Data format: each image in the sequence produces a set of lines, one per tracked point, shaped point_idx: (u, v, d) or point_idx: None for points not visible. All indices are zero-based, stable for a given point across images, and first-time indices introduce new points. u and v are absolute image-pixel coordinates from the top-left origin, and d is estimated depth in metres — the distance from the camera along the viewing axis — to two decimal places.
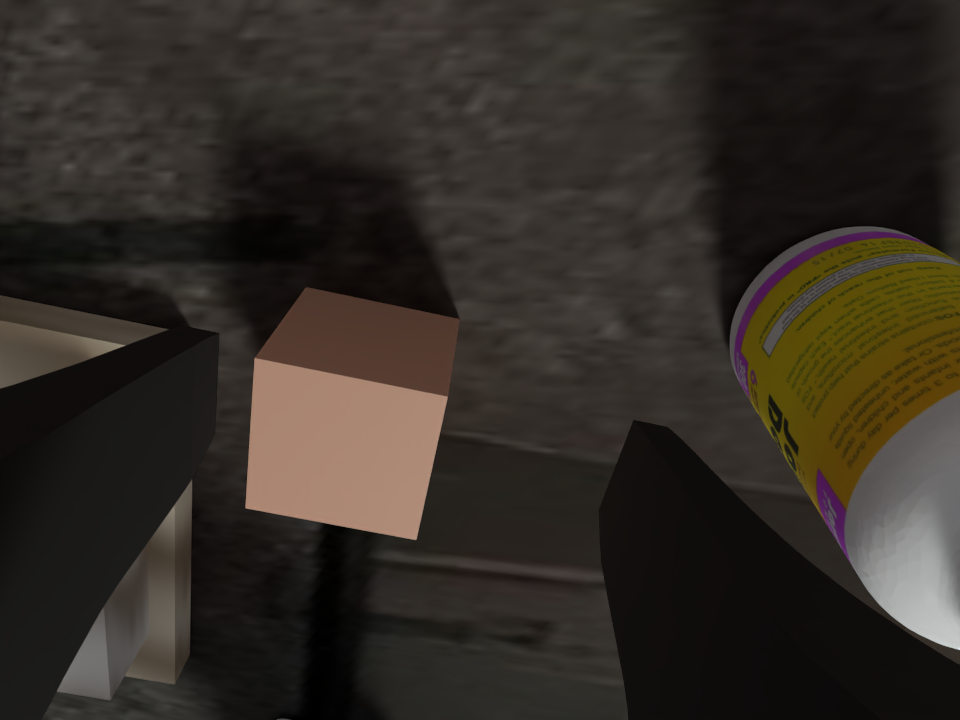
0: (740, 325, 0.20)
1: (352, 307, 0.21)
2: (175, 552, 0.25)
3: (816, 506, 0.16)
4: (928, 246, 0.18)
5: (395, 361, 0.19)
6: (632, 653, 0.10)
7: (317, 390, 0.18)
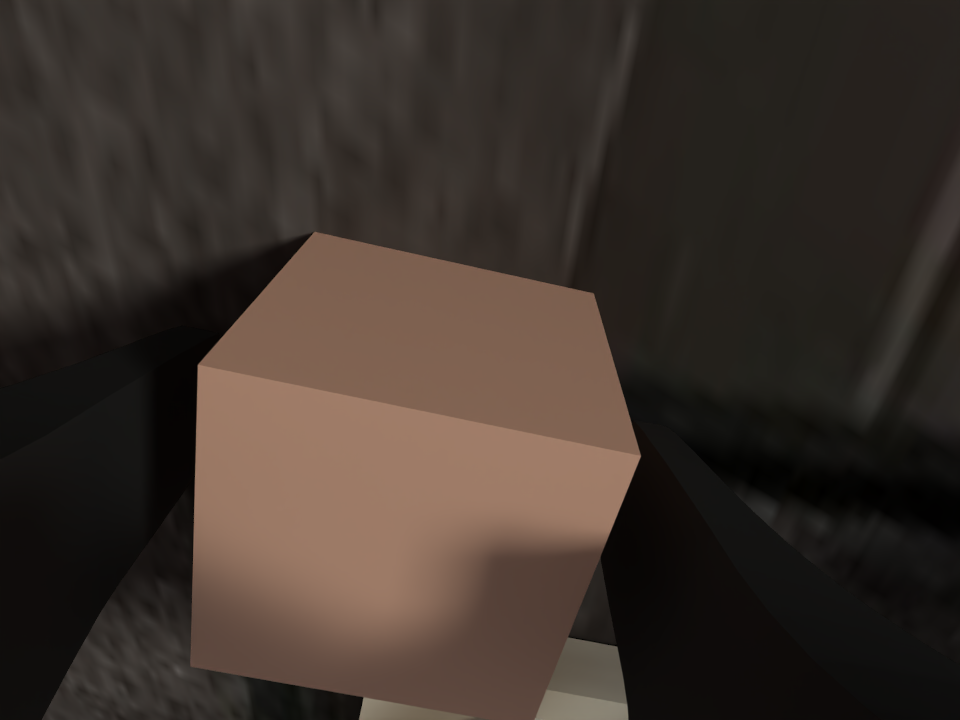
0: None
1: None
2: None
3: None
4: None
5: None
6: (632, 653, 0.10)
7: (237, 591, 0.09)
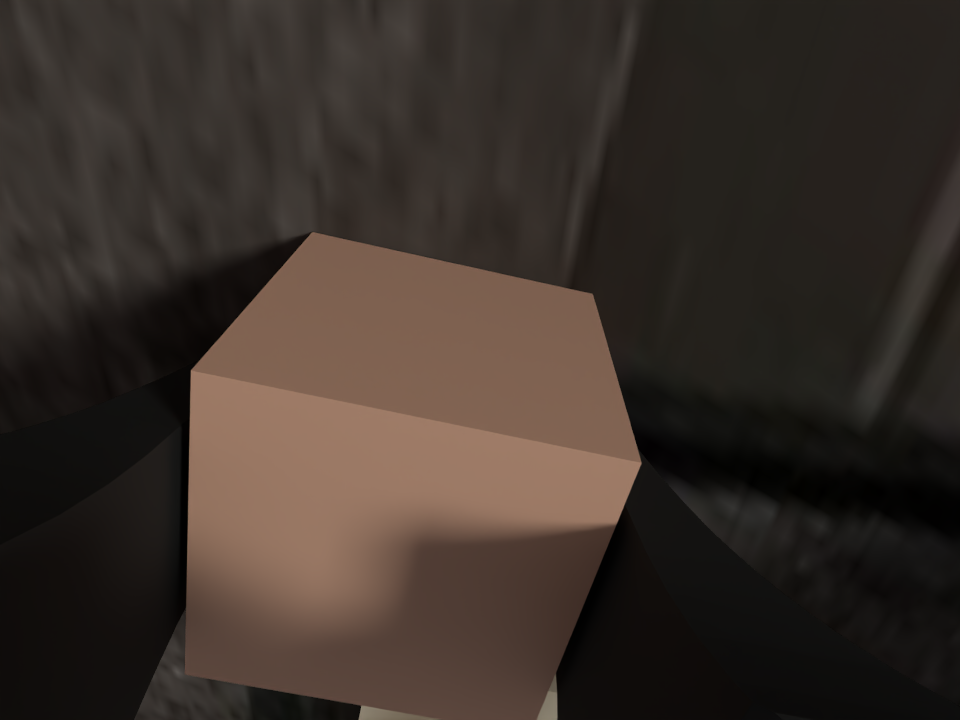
0: None
1: None
2: None
3: None
4: None
5: None
6: None
7: (231, 599, 0.09)
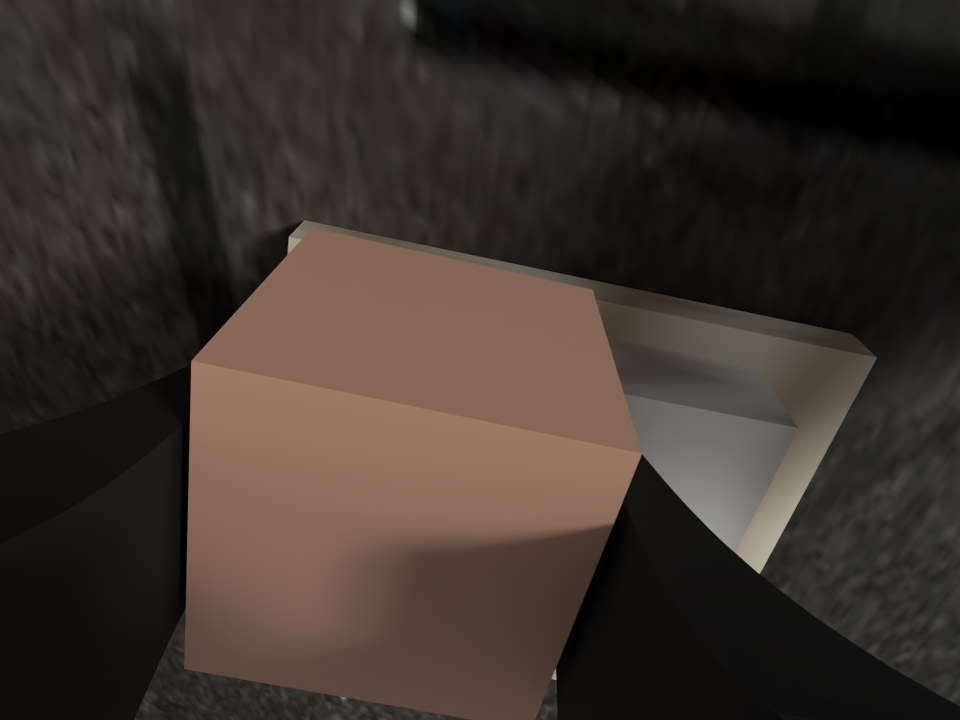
0: None
1: None
2: (608, 301, 0.18)
3: None
4: None
5: None
6: None
7: (230, 593, 0.09)
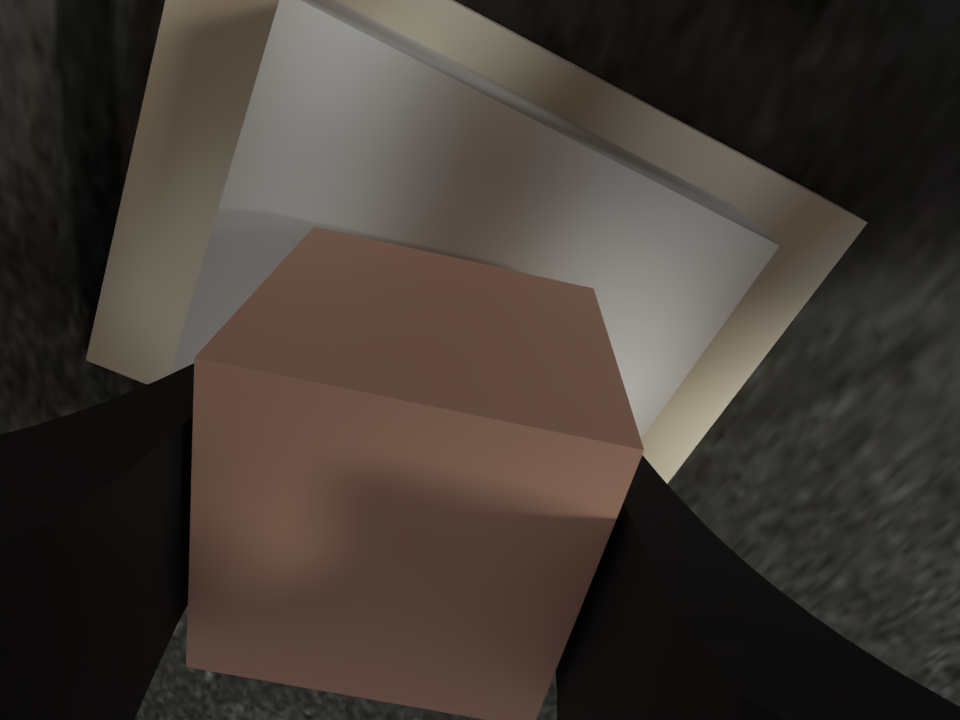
0: None
1: None
2: (582, 70, 0.14)
3: None
4: None
5: None
6: None
7: (233, 590, 0.09)
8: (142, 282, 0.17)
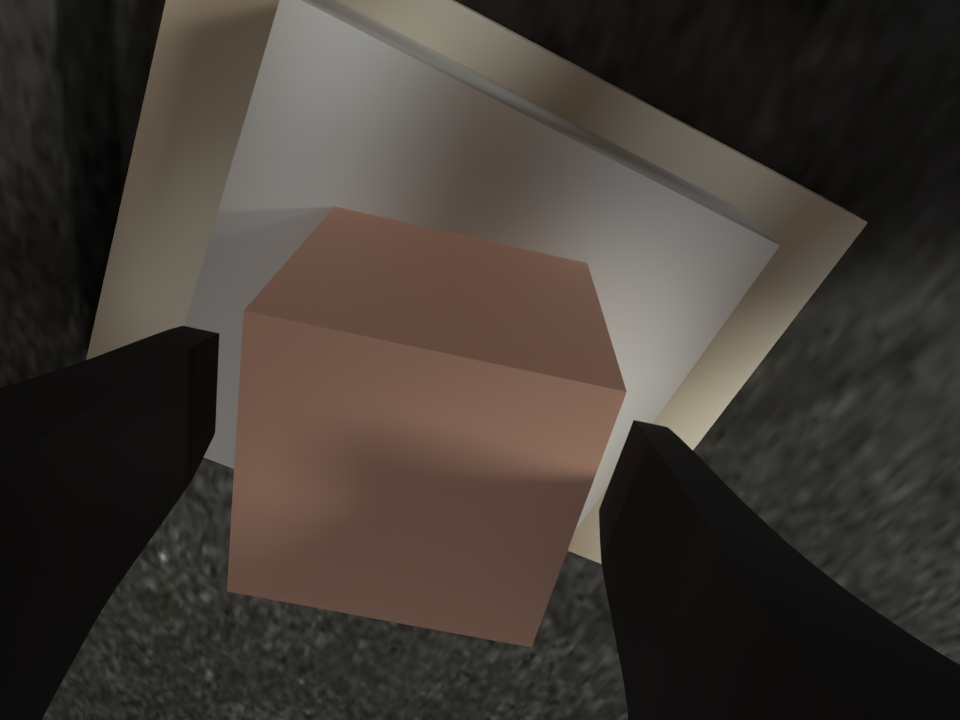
0: None
1: None
2: (582, 70, 0.14)
3: None
4: None
5: None
6: (632, 653, 0.10)
7: (271, 519, 0.10)
8: (142, 282, 0.17)
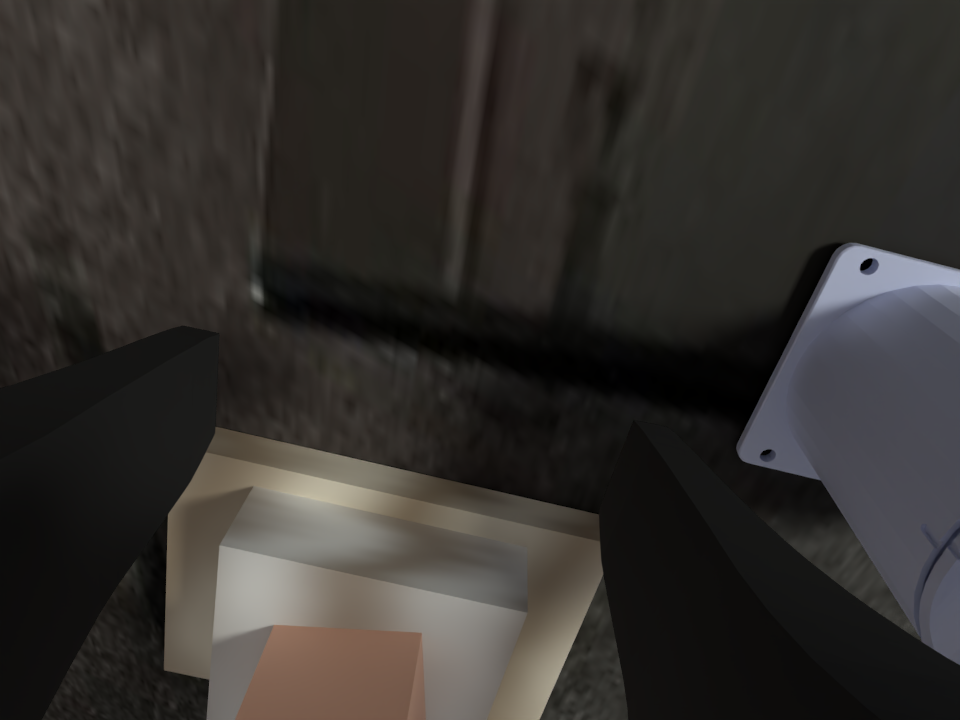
0: None
1: None
2: (410, 497, 0.24)
3: None
4: None
5: None
6: (632, 653, 0.10)
7: None
8: (187, 628, 0.27)
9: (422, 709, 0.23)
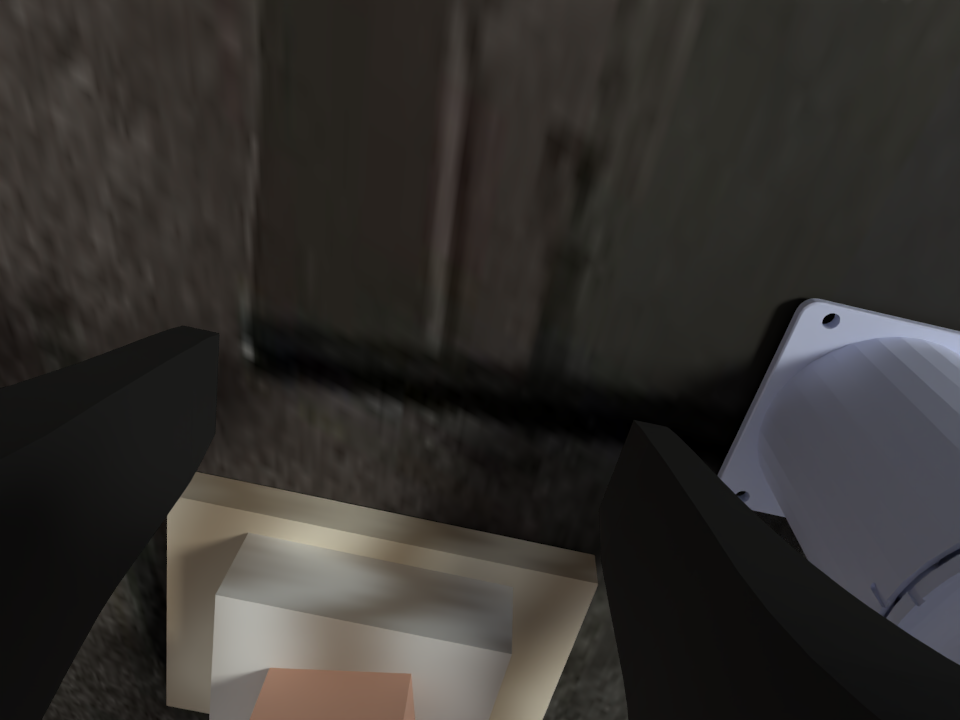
0: None
1: None
2: (399, 541, 0.25)
3: None
4: None
5: None
6: (632, 653, 0.10)
7: None
8: (188, 665, 0.28)
9: None
